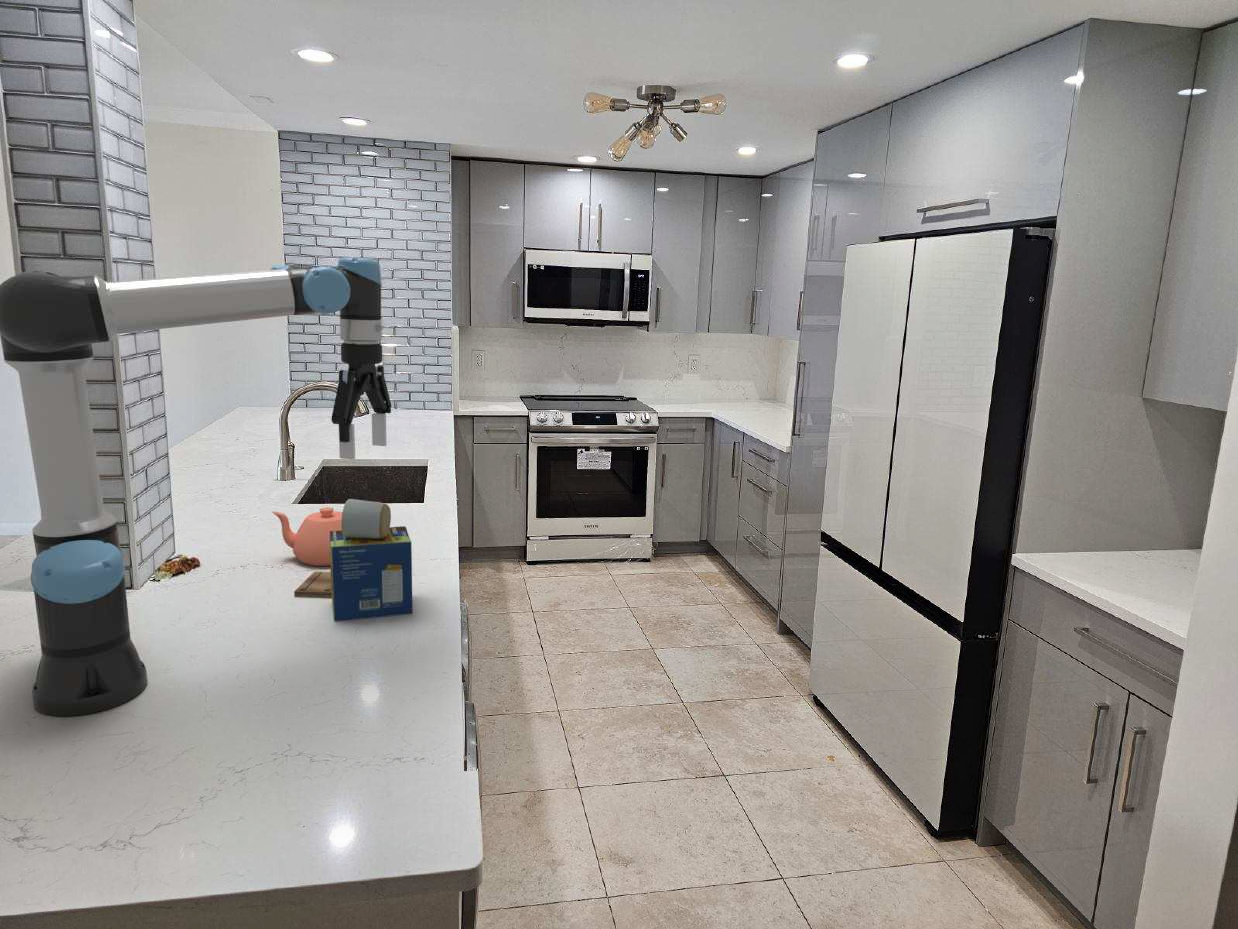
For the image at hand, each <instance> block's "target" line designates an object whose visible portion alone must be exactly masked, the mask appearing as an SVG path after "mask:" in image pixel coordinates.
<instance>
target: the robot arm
mask: <svg viewBox="0 0 1238 929" xmlns="http://www.w3.org/2000/svg"><path fill="white" fill-rule="evenodd" d="M337 262H338V264H337V267H331V266H328V265H319V266H318V265H316V266H309V265H302V266H301V265H290V264H286V265H273V266H271V267H270V269H268V270H254V271H251V270H250V271H239V272H237V271H236V272H225V273H223V272H222V273H211V274H198V275H185V276H184V275H183V276H170V277H155V278H140V279H128V280H115V281H114V280H113V281H105V279H103V278H101V277H99V276H98V275H85V276H83V275H82V276H70V275H69V276H68V275H65V276H64V275H59V274H56V273H53V272H50V271H39V270H35V271H23V272H21V273H18V274H16V275H13V276H11V277H9V278H7V279H5V280H4V281H3V282H1V284H0V342H1V348H2V355H3V361H4V363H6V364H7V365H9V366H10V367H11V368H13V369H14V370H16V371H17V373H18V377H19V383H20V390H21V395H22V402H23V408H24V415H25V422H26V427H27V432H28V433H27V434H28V439H29V447H30V451H31V457H32V464H33V471H34V478H35V481H36V482H35V484H36V490H37V495H38V496H37V497H38V501H39V507H40V508H39V509H40V513H41V519H40V520H39V522H37V523H36V524H35V526H34V527H32V529H31V530H32V536H33V543H34V549H35V558H34V559H33V561H32V564H31V572H30V583H31V584H30V585H31V586H32V588H33V594H34V602H35V610H36V619H37V627H38V635H39V642H40V651H41V656H40V661H39V664H38V669H37V673H36V676H35V677H36V678H35V682H34V684H33V686H32V690H31V693H32V695H31V697H32V700H33V701H32V702H33V706H34V709H35V710H36V711H38V712H39V713H42V714H44V715H49V716H57V717H74V716H81V715H88V714H93V713H94V714H95V713H97V712H98V713H99V712H103V711H104V710H108V709H111V708H114V707H117V706H119V705H122V704H124V703H126V702H128V701H130V700H132V699H133V698H135V697H137V696H138V695H139V694H141V693H142V692H143V691H144V690H145V688H146V687H147V685H148V675H147V674H148V673H147V667H146V665H145V664H144V662H143V661H142V660H141V659H140V656H139V654H138V651H137V648H136V647H135V645H134V643H133V641H132V638H131V631H130V630H131V629H130V621H129V620H130V619H129V607H128V599H127V589H126V578H125V574H126V564H125V561H124V558H123V557H124V555H123V551H122V547H121V544H120V537H119V530H118V523H117V519H116V516H114V515H112V514H111V513H110V512H107V510H105V507H104V500H103V493H102V486H101V479H100V469H99V463H98V456H97V450H96V444H95V437H94V429H93V423H92V422H93V421H92V415H91V408H90V400H89V395H88V393H89V392H88V387H87V386H88V385H87V380H86V374H85V369H86V367H87V366H88V365H89V364H90V363H91V362H92V361H93V360H94V358H95V357H94V350H93V344H97V343H105V342H106V343H107V342H112V341H113V340H114V339H115V338H116V337H117V336H118V335H120V334H125V333H126V334H127V333H133V332H134V333H135V332H145V331H154V330H162V329H163V330H164V329H171V328H172V329H174V328H183V327H184V328H185V327H192V326H204V325H211V324H220V323H221V324H222V323H231V322H240V321H249V320H257V319H260V320H261V319H267V318H276V317H277V318H279V317H287V316H288V317H289V316H300V315H310V314H322V315H328V314H333V313H337V312H339V332H340V333H339V335H340V337H339V338H340V339H341V341H343V342H341V344H340V361H341V362H342V363H344V364H347V365H348V369H345V370H344V369H340V370H339V371H338V385H337V389H336V395H335V399H334V404H333V408H332V415H331V419H330V420H331V422H332V424H334V425H338V445H339V447H338V448H339V459H341V460H342V459H343V460H345V459H346V460H355V459H356V443H355V442H356V440H355V439H356V438H355V424H353V420H354V418H355V417H354V416H355V414H356V411H357V407H358V406H359V402H360V400H361V397H362V396H363V395H364V394H366V396H367V399H368V401H369V403H370V405H371V408H372V410H373V412H372V413H371V438H372V439H371V440H372V441H371V442H372V446H378V447H379V446H380V447H386V446H387V414H391V413H392V402H391V399H390V394H389V391H388V390H389V389H388V387H387V382H386V377H385V371H384V370H385V367H384V365H383V364H382V362H383V345H382V344H381V343H380V342H381V341H382V339H383V333H382V331H383V330H384V326H383V325H382V286H383V284H382V274H381V266H380V263H379V262H378V261H377V260H375V259H371V258H360V257H359V258H358V257H354V258H353V257H340V258H339V259H338V261H337Z"/></svg>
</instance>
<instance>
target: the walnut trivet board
mask: <svg viewBox="0 0 1238 929" xmlns="http://www.w3.org/2000/svg"><path fill="white" fill-rule="evenodd" d="M293 593H294V594H293V596H294V598H313V599H314V598H316V599H317V598H318V599H319V598H320V599H321V598H322V599H332V591H331V571H313V572H312V573H311V574H310V575H309V576H308V577H307V578H306V579H305V580H304V581H303V582H302V583H301V584H300V585H299V586H298V587H297V588H296V589H295V590H294V591H293Z"/></svg>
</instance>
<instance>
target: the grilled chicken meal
mask: <svg viewBox="0 0 1238 929" xmlns="http://www.w3.org/2000/svg"><path fill="white" fill-rule="evenodd" d="M177 559H178V560H177ZM195 565H198V566H200V565H201V562H200V559H198V558H197V557H194V556H192V557H188V556H187V555H186V554H180V553H179V554H177V555H174V556H173V557H168V558H167V559H166V560H165V561H164V563H163V564H161V565H160V566H158V567H157V569H156V571H155V572H154V574H153V575H155V576H154V577H151V578H154V579H155V580H154V581H158V580H161V579H166V578H170V579H171V578H172V576H173V574H174V575H175V574H178V573H180V572H182V571H183V574H184V573H186V572H189V573H191V572H192V571H191V570H192V569H194V566H195ZM157 571H158V572H157ZM190 571H191V572H190ZM158 582H159V581H158Z"/></svg>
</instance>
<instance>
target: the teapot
mask: <svg viewBox="0 0 1238 929" xmlns="http://www.w3.org/2000/svg"><path fill="white" fill-rule="evenodd" d="M334 509H335V508H333V507H329V506H324V507H320V508H319V511H317V512H313V513H310V514H308V515H307V516H306V517H305V518H304V520H303V521H302V522H301V524H300V526H299V528H298V529H297V532H296V533H295V532H293V531H292V529H291V528H290V521H289V518H288V516H287V515H286V514H285V513H283V512H279V511H273V510H272V511H271V513H272V514H273V515H275V516H276V517H278V519H279V521H280V524H281V534H282V538H283V539H282V540H284V543H285V544H286V545H287V546H288V547H289V548H291V549H292V553H293V554H294V556H295V557H296V558H297V559H298V560H299V561H300V562H301V563H303V564H305V565H309V566H315V567H319V566H321V567H322V566H323V567H324V566H325V567H326V566H330V531H342V527H341V523H342V512H343V511H342V512H341V511H335V510H334Z"/></svg>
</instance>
